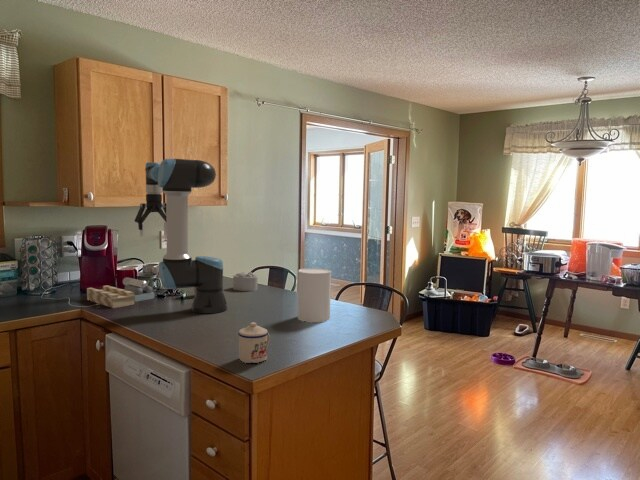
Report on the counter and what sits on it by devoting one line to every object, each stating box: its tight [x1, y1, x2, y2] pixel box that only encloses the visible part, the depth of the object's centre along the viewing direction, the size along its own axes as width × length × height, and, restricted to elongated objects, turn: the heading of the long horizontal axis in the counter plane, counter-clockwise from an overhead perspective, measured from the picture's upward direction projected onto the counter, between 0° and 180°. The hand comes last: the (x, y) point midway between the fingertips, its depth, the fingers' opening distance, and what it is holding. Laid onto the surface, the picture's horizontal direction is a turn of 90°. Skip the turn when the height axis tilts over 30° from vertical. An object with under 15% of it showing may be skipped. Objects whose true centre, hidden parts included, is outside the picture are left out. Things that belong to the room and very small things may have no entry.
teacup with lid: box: [238, 321, 271, 362], centre depth 152 cm, size 12×9×12 cm
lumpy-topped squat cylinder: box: [232, 271, 258, 292], centre depth 259 cm, size 10×13×9 cm
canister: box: [297, 267, 332, 323], centre depth 201 cm, size 14×14×20 cm
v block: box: [123, 285, 155, 303], centre depth 232 cm, size 11×10×6 cm
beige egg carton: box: [86, 284, 135, 309], centre depth 224 cm, size 24×10×6 cm, turn 51°
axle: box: [122, 276, 149, 290], centre depth 234 cm, size 16×4×4 cm, turn 51°
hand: (154, 235), depth 246 cm, fingers open, 13 cm apart
